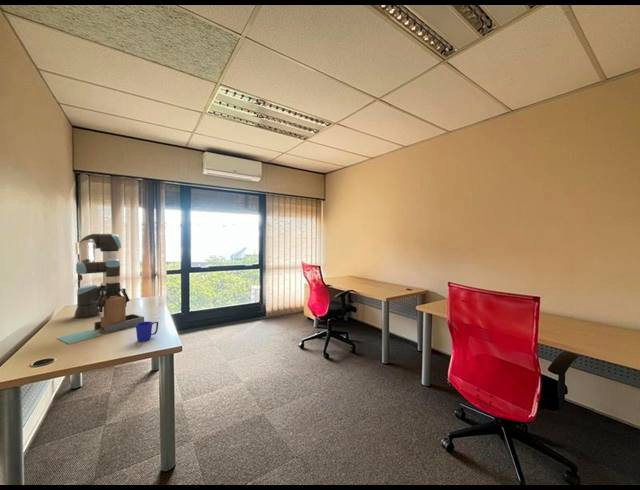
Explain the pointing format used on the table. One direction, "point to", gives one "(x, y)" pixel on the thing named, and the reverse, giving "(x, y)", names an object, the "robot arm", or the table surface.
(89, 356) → the table surface
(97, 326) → the chute
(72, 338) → the pad
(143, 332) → the mug
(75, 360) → the table surface
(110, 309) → the wooden block
